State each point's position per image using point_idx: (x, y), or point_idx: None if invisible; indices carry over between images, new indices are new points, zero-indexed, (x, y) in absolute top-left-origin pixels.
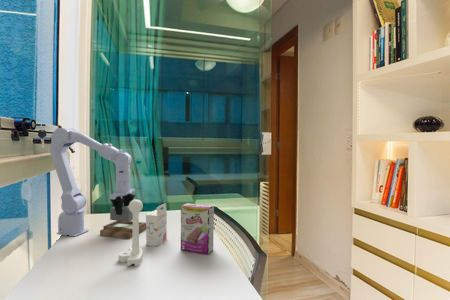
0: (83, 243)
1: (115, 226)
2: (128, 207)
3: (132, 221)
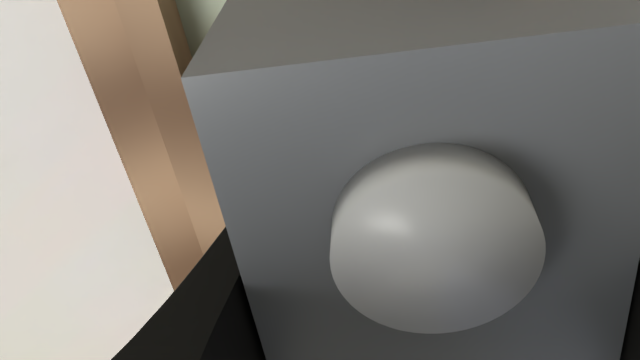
0: None
1: None
2: (498, 178)
3: (168, 111)
